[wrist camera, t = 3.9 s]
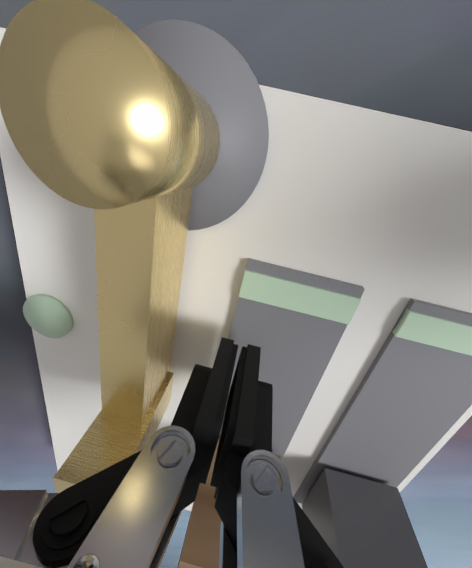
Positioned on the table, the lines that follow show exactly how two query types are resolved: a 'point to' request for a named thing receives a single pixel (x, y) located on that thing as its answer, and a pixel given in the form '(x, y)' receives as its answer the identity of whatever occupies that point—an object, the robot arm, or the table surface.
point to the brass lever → (113, 193)
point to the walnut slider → (203, 528)
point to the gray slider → (363, 522)
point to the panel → (285, 272)
